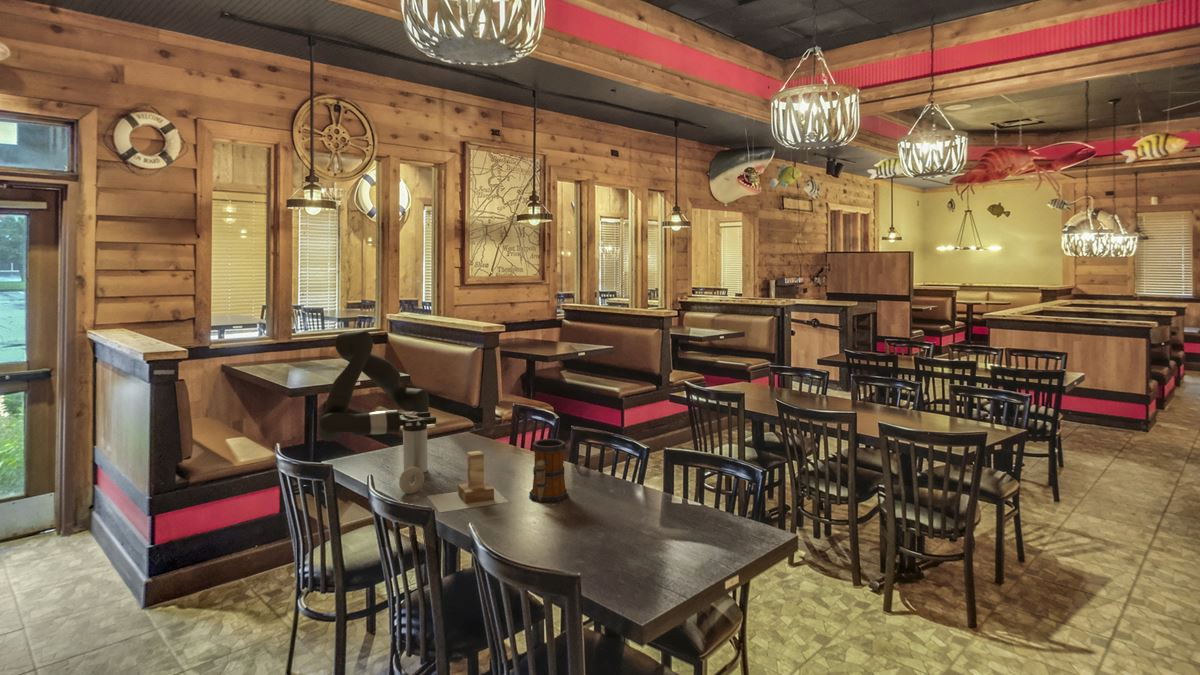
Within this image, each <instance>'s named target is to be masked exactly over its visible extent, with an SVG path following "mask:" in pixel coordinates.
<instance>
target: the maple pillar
mask: <svg viewBox="0 0 1200 675" xmlns="http://www.w3.org/2000/svg"><path fill="white" fill-rule="evenodd" d="M466 454H467V458H466V459H467V462H466V464H467V483H468V486H469V487H470V488H471V489H477V488H484V481H485V480H484V479H485V476H484V475H485V468H484V467H485V464H484V461H485V460H484V459H485V458H484V457H485V456H484V453H483V451H481V450H475V451H468V452H467V453H466Z"/></svg>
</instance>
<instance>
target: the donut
mask: <svg viewBox="0 0 1200 675" xmlns="http://www.w3.org/2000/svg"><path fill="white" fill-rule="evenodd" d="M412 477H414V480H413V483H412V484H410V479H411V478H412ZM398 480H399V482H398V484H399V488H400V490H401V492H403V493H404V494H405V495H412V494H416V493H418V492H419V491H420V490H421V489H422V487H423V485H424V481H425V473H423V472H422V470H421V469H420V468H418V467H415V466H414V467H409V468H407V469H406V470H405V471H404V470H403V471H402V473H401V475H400V477H399V479H398Z"/></svg>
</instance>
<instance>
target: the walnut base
mask: <svg viewBox="0 0 1200 675" xmlns="http://www.w3.org/2000/svg"><path fill="white" fill-rule="evenodd" d="M494 488H495V487H493V486H492V485H490V484H489V482H488V481H487V480H484V488H477V489H471V488H470V487H469V486H468V482H464V483H458V484H457V492H458V496H459V497H460V498H461V499H462V500H463V501H464V502H465V504H470V503H477V502H483V501H490V500H494Z"/></svg>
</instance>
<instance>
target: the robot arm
mask: <svg viewBox="0 0 1200 675" xmlns="http://www.w3.org/2000/svg"><path fill="white" fill-rule="evenodd" d="M334 347H335V349H336V352H337V353H338V355H339V356H340V357H341V358H342V359H343V360H345V361H347V362H348V364H347V366H346V367H345V368H344V369H343V370H342V371H341V373H340V374H338V376H337V377H336V378H335V379H334V381H333V383H332V384H331V387H330V389H329V392H328V395H327V398H326V401H325V402H326V403H325V408H324V409H325V410H324V412H323V414H322V416H321V418H320V419H319V423H318V431H317V432H318V436H319V437H320V438H321V439H322V440H323V441H325V442H334V441H336V440H338V438H339V437H340V436H341V434H342V433H351V434H352V435H353V436H366V435H382V434H383V435H384V434H385V435H386V434H395V433H399V432H400V430H401V427H402V446H403V447H402V450H403V451H402V452H403V471H405V470H406V469H407V468H409V467H414V466H415V467H418V468H420V469H421V470H422V472H423V474H425V473H426V472H428V471H429V470H428V468H429V467H428V463H429V462H428V457H429V456H428V425H435V424H437V418H436V417H435V416H431V412H430V411H429V410H430V409H429V408H430V405H429V404H430V398H429V397H430V396H429V393H428V392H427V390H425V389H423V388H416V387H415V388H412V387H408V386H407V387H406V386H405V385H403V383H401V374H400V371H399V369H398V368H397V367H396V366H395V365H394V364H393V363H392V362H391V361H389V359H386V358H383V357H382V356H379V355H376V354H373V353H372V352H373V347H374V340H373V337H372V335H371V333H370V332H369V331H367V330H353V331H352V330H351V331H346V332H342V333H340V334H338V335H337V336H336V337H335V340H334ZM362 373H363V374H364V375H365V376H367V377H368V378H369V379H370V380H371V381H372V383H374V384H375V385H376V386H377V387H378V388H380V389H381V390H382V391H383V392H384V393H386V395H388V397H389V398H391V399H392V401H393V402H394V404H396V406H397V407H398V409H401V410H402V411H403V412H399V410H398V409H391V410H389V409H388V410H377V411H372V412H362V413H350V412H347V411H348V408H349V406H350V402H351V399H352V396H353V394H354V393H353V392H354V389H355V387H356V385H357V382H358V381H359V378H360V376H361V374H362Z"/></svg>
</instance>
